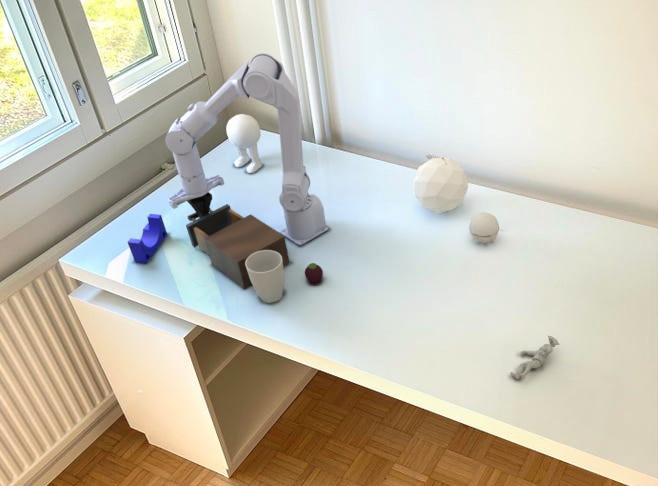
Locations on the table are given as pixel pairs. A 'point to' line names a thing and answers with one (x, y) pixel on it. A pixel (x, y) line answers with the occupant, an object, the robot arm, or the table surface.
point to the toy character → (245, 140)
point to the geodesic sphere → (440, 184)
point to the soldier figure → (535, 358)
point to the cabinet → (243, 247)
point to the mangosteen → (313, 273)
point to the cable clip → (148, 239)
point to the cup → (266, 274)
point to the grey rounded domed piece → (484, 227)
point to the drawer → (210, 224)
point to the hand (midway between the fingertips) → (204, 219)
